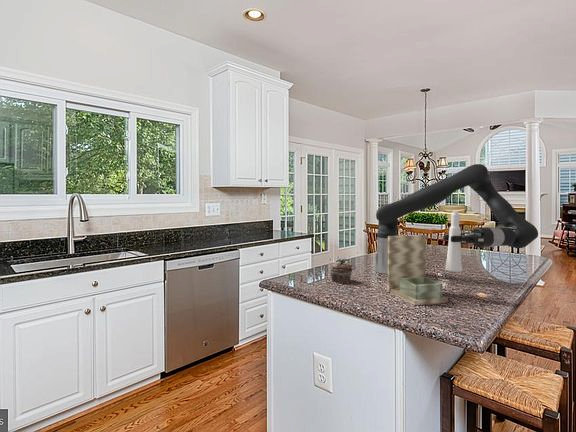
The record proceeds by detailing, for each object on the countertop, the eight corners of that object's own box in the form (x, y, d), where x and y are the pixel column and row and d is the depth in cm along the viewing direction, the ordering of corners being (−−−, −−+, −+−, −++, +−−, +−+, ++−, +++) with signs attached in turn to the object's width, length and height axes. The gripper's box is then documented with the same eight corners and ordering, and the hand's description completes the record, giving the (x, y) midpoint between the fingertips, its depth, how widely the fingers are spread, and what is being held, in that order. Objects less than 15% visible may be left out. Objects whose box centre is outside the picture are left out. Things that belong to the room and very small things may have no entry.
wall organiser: (413, 305, 124) (414, 242, 123) (387, 291, 142) (387, 236, 140) (453, 302, 127) (454, 240, 126) (423, 289, 145) (424, 234, 144)
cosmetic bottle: (451, 267, 139) (452, 210, 137) (465, 270, 134) (468, 211, 132) (441, 269, 135) (443, 211, 134) (456, 272, 130) (458, 212, 129)
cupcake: (346, 277, 165) (346, 256, 165) (355, 282, 156) (355, 260, 155) (326, 279, 163) (326, 257, 162) (334, 284, 154) (334, 261, 153)
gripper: (474, 225, 143) (436, 226, 140) (502, 229, 130) (461, 230, 126) (473, 244, 144) (435, 245, 140) (501, 249, 130) (460, 251, 126)
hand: (448, 238), depth 133 cm, fingers closed on cosmetic bottle, 3 cm apart
